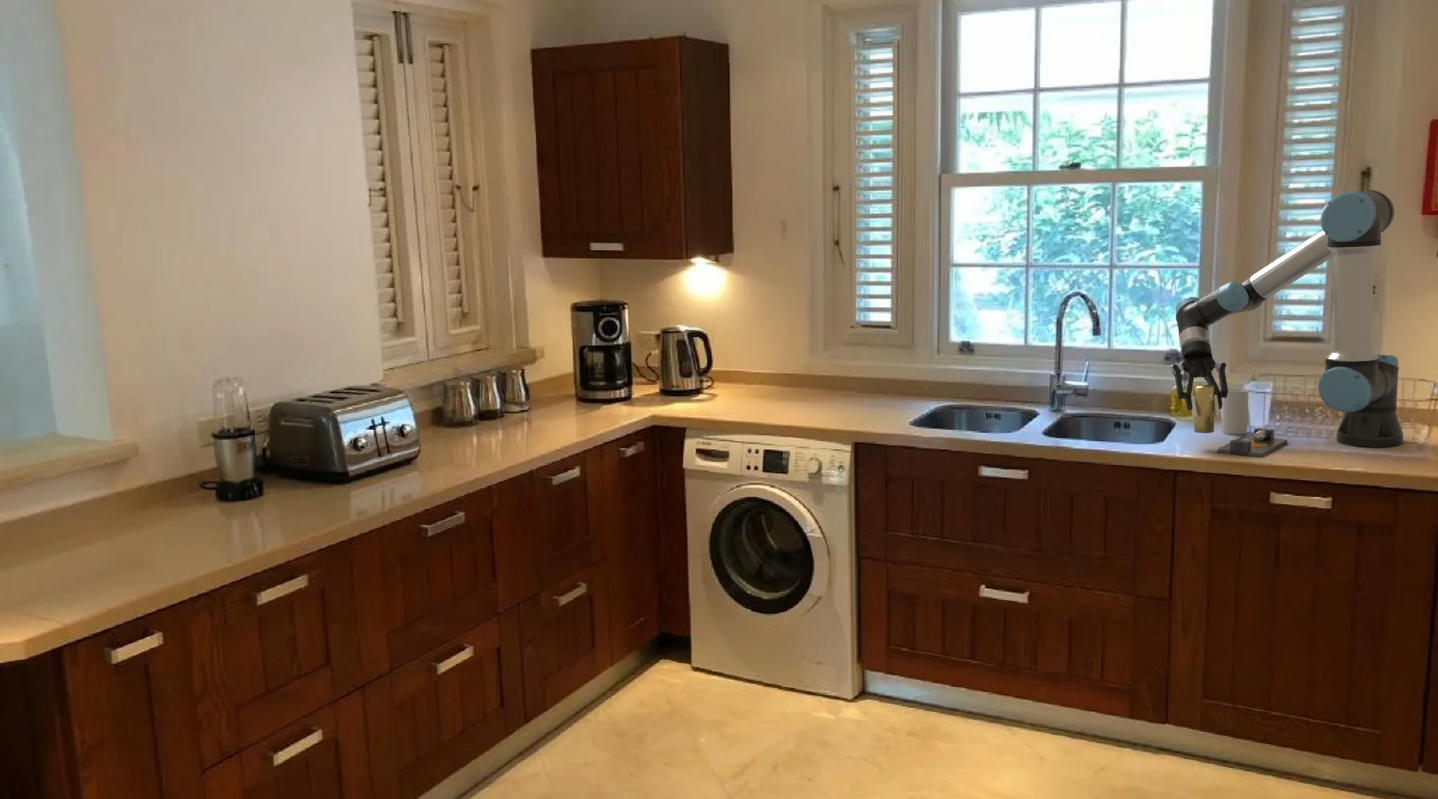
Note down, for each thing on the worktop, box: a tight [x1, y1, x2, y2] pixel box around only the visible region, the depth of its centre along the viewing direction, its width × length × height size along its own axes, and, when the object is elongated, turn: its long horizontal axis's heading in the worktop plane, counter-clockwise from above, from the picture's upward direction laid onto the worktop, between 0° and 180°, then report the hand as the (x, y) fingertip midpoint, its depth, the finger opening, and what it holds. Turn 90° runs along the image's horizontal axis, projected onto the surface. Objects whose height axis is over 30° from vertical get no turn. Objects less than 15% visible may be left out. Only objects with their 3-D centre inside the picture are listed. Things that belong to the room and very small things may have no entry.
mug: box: [1219, 387, 1250, 436], centre depth 321 cm, size 10×7×12 cm, turn 11°
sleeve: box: [1193, 384, 1215, 434], centre depth 302 cm, size 5×5×12 cm
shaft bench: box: [1216, 427, 1288, 458], centre depth 301 cm, size 19×11×3 cm, turn 136°
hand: (1206, 418), depth 299 cm, fingers closed on sleeve, 5 cm apart
